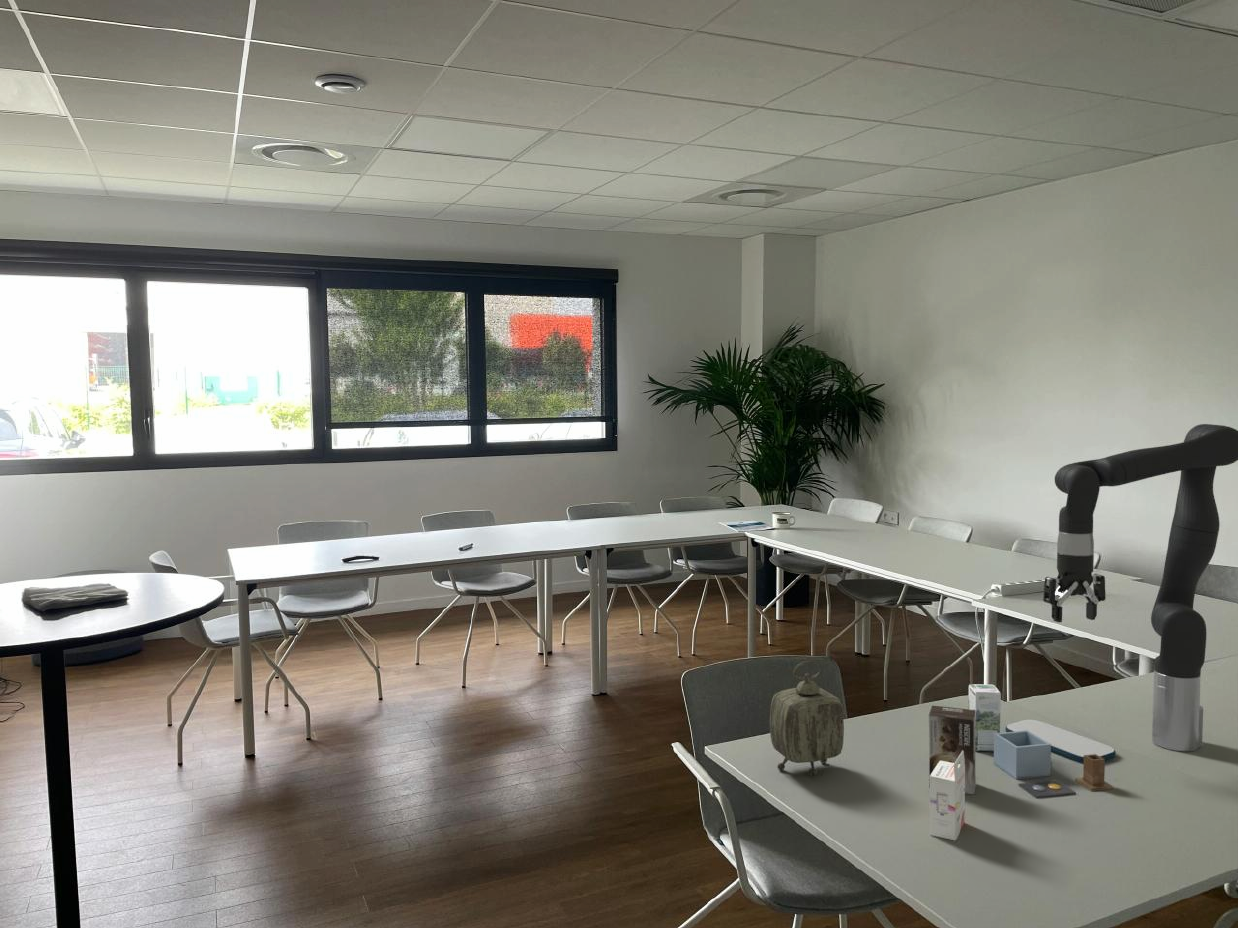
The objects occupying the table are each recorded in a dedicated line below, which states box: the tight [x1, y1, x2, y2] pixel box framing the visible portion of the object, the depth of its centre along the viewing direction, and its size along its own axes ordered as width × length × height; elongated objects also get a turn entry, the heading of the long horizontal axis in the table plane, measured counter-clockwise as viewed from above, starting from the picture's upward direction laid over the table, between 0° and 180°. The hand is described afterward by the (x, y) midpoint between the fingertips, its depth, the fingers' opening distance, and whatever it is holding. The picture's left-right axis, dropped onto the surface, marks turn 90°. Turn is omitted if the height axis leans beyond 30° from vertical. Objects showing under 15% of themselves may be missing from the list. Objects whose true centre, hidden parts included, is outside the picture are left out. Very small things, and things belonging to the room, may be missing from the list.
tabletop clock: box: [769, 660, 845, 777], centre depth 196 cm, size 14×9×25 cm, turn 108°
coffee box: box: [928, 705, 977, 795], centre depth 188 cm, size 9×6×16 cm
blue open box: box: [993, 731, 1052, 780], centre depth 195 cm, size 8×8×7 cm
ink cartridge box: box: [929, 751, 966, 841], centre depth 169 cm, size 9×5×15 cm, turn 148°
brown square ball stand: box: [1074, 754, 1114, 792], centre depth 187 cm, size 5×5×6 cm
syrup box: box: [967, 683, 1002, 753], centre depth 208 cm, size 6×6×14 cm
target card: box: [1018, 779, 1077, 799], centre depth 186 cm, size 9×6×1 cm, turn 100°
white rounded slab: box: [1005, 719, 1116, 765], centre depth 209 cm, size 24×12×2 cm, turn 28°
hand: (1074, 620), depth 205 cm, fingers open, 8 cm apart
